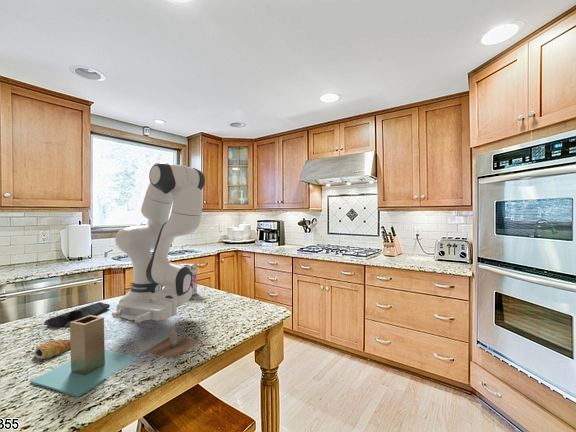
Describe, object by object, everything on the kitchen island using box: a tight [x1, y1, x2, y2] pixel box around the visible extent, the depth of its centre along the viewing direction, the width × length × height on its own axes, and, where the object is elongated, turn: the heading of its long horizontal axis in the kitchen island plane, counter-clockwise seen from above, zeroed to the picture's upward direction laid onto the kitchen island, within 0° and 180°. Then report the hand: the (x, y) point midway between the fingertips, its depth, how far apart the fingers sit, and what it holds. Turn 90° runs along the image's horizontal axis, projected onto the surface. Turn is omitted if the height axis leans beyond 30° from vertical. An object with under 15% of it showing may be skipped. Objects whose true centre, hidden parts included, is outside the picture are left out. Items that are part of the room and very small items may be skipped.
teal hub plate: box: [29, 349, 140, 398], centre depth 78 cm, size 18×18×5 cm
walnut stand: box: [144, 330, 200, 359], centre depth 91 cm, size 12×12×6 cm
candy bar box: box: [179, 263, 198, 297], centre depth 148 cm, size 11×5×16 cm, turn 80°
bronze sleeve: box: [69, 315, 106, 376], centre depth 78 cm, size 6×6×14 cm
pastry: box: [33, 339, 71, 360], centre depth 89 cm, size 9×7×4 cm
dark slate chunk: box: [43, 301, 111, 328], centre depth 118 cm, size 15×22×5 cm
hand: (125, 317), depth 90 cm, fingers open, 8 cm apart
